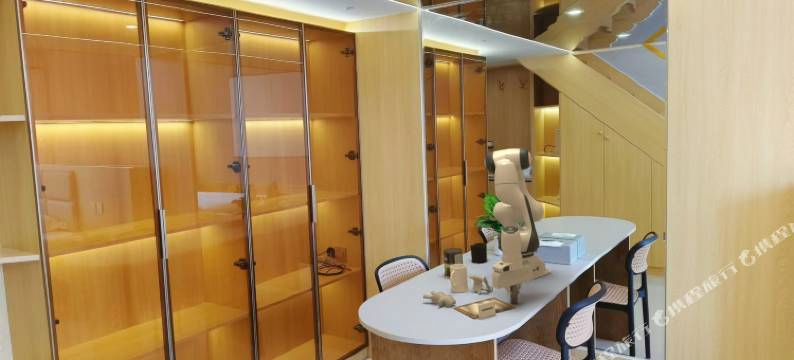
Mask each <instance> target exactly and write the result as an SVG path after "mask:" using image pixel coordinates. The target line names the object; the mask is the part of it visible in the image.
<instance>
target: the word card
mask: <svg viewBox="0 0 794 360" xmlns="http://www.w3.org/2000/svg"><path fill="white" fill-rule="evenodd" d="M478 311H479V318H478V319H479V320H482V319H486V318H490V317H493V316H495V315H496V313H495V301H491V302H487V303H483V304H479V305H478Z"/></svg>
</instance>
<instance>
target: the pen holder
mask: <svg viewBox="0 0 794 360" xmlns="http://www.w3.org/2000/svg"><path fill="white" fill-rule="evenodd" d="M487 245H488V244H487V243H485V242H476V243H474V244H472V245H471V244H470V247H469V248H470V255H471V262H472V263H473V264H485V263H487V262H488V246H487Z"/></svg>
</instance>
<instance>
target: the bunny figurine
mask: <svg viewBox="0 0 794 360" xmlns="http://www.w3.org/2000/svg"><path fill="white" fill-rule="evenodd" d="M430 294H431V295H429V294H424V295H423V296H422V299H424V300H425V299H429V300H431V302H432V304H434V305H436V306H439V307H441V306H444V307H445V308H448V307H452V306H453V305H456V304H457V303H456V302H457V300H455V298H454V297H453V295H451V294H446V293H445V292H444V291H437V292H435V291H433V290H432V291H430Z"/></svg>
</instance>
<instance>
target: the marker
mask: <svg viewBox="0 0 794 360" xmlns="http://www.w3.org/2000/svg"><path fill="white" fill-rule="evenodd" d="M517 286H518V285H513V286H510V289H509V290H510V291H512V295H511V296H509V297H510V304H511V305H513V306H515V305H519V294H518V290H517Z"/></svg>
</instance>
